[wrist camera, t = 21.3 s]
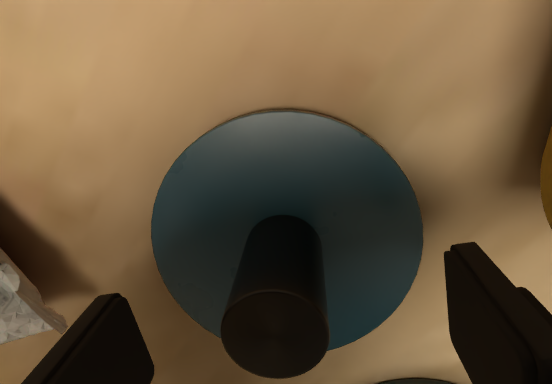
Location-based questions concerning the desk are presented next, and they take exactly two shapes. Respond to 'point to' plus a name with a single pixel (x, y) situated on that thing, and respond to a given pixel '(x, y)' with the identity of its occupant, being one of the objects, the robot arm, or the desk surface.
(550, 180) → the flower pot
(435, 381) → the pot
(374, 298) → the pot lid
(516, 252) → the desk surface
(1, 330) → the packaged food
